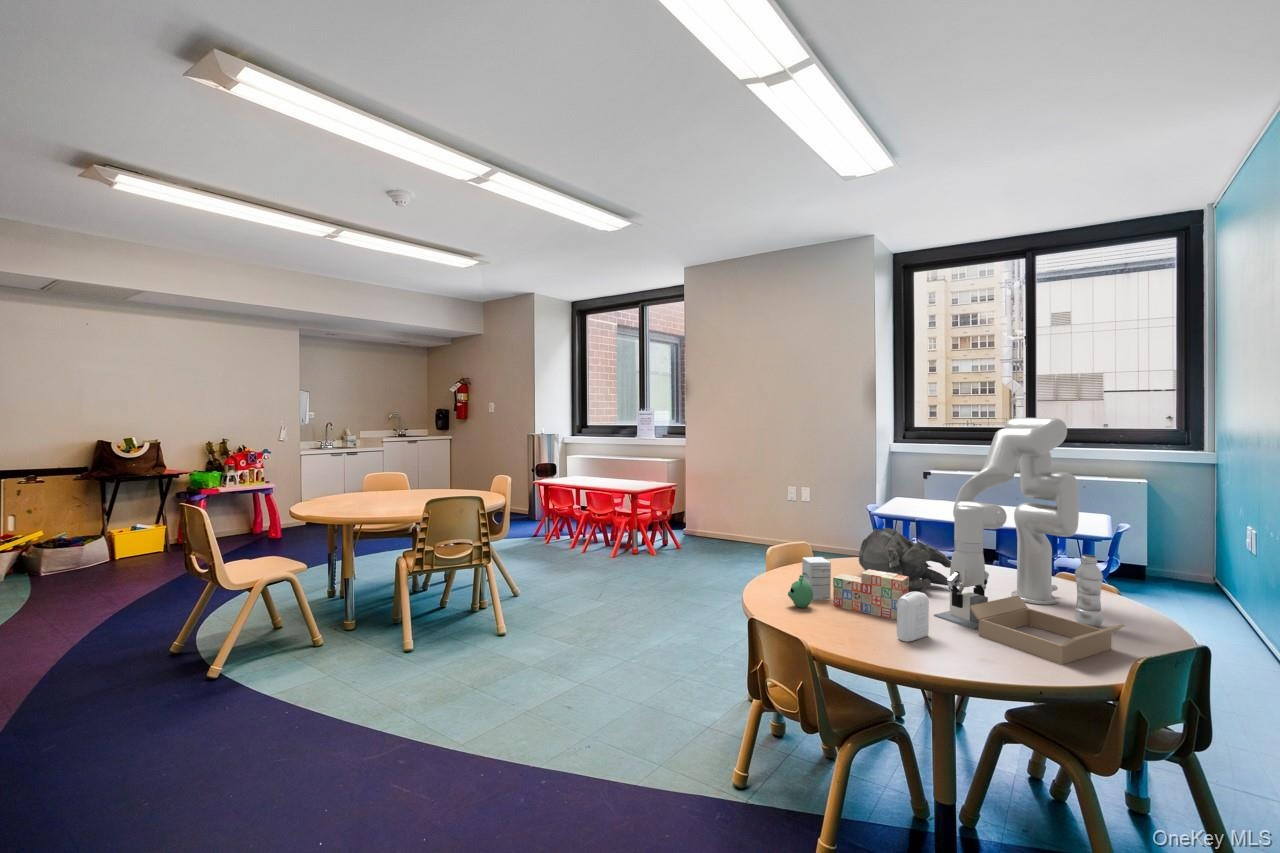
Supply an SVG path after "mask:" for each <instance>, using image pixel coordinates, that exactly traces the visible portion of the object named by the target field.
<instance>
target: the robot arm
mask: <svg viewBox="0 0 1280 853" xmlns="http://www.w3.org/2000/svg"><path fill="white" fill-rule="evenodd" d="M1067 436H1068V427H1067V424H1066V423H1065V422H1064V421H1063V420H1062V419H1060V418H1057V417H1015V418H1011V419H1008V420H1007V421H1006V422H1005V424H1004V428H1000V429H998V430H997V431H996V432H995V434H994V435H993V438H992V442H991V445H990V448H989V451H988V453H987V456H986V458H985V462H984V464H983V467H982V469H981V470H980V471H978V472H977V473H975V474H974V475H972V477H970V478H969V479H968V480H966V481H965V483H963V484H962V486H961V487H960V489H959V490H958V493H957V496H956V498H955V502H954V504H953V510H952V514H953V518H954V535H953V537H954V546H953V548H954V551H953V552H952V555H951V560H950V561H951V567H950V568H949V569H950V570H949V572H950V573H949V577H947V578H948V579H947V583H948V589H949V593H950V592H952V606H955V607H958V608H963V595H962V594H961V593H962V591H963V590H964V589H965V588H970V587H973V592H972V593H975V594H978V595H982V596H985V593H986V591H985V590H986V589H987V584H988V582H989V581H988V580H989V577H990V573H989V572H988V571H986V567H985V564H986V563H985V557H984V530H997V529H1001V528H1002V527H1003V526H1004V525H1005V524H1006V521H1007V519H1008V518H1007V516H1008V515H1007V513H1006V510H1005V509H1004V508H1003V507H1002V506H1000V505H997V504H995V503H989V502H988V503H986V502H982V501H975V499H976V497H977V496H978V495H979V494H981V493H982V492H983V491H985V490H987V489H990V488H993V487H997V486H999V485H1002V484H1005V483H1008V482H1009V483H1010V481H1012V480H1013V479H1014V477H1015V473H1016V470H1017V468H1018V465H1019V462H1020V466H1019V467H1020V468H1019V469H1020V470H1019V472H1020V474H1019V478H1020V479H1019V483H1020V484H1019V486H1020V492H1021V494H1022V495H1023V496H1024V497H1026V498H1029V499H1034V500H1040V501H1041V500H1043V501H1049V502H1050V501H1051V502H1056V505H1054V504H1047V503H1046V504H1045V503H1039V502H1022V503H1020V504H1019V505H1017V506H1016V507H1015V509H1014V512H1013V517H1014V519H1013V520H1014V525H1015V530H1016V537H1017V538H1016V540H1017V542H1016V544H1017V549H1016V550H1017V551H1016V552H1017V553H1016V554H1017V555H1016V556H1017V558H1016V560H1017V561H1016V564H1017V566H1016V573H1017V574H1016V590H1013V591H1011V597H1013V596H1018V595H1019V597H1020V598H1021V599H1022V601H1024V603H1027V604H1028V603H1030V604H1035V605H1055V604H1056V603H1058V597H1056V596H1055V595H1053V594H1052V593H1053V592H1056V591H1058V586H1057V585H1056V584H1052V575H1053V573H1052V572H1053V568H1052V567H1053V566H1052V565H1053V559H1052V558H1053V557H1052V556H1053V549H1052V548H1053V547H1052V544H1051V542H1050V540H1049V539H1048V537H1047V535H1051V536H1055V537H1062V538H1063V537H1064V538H1068V537H1069V538H1070V537H1072V536H1075V535H1076V533H1077V531H1078V528H1079V518H1080V516H1079V515H1080V511H1079V509H1080V487H1079V486H1080V485H1079V482H1078V479H1077V478H1076V476H1075V475H1073V474H1072V473H1070V472H1067V471H1056V470H1055V471H1054V470H1052V455H1051V452H1050V451H1052V450H1054V449H1055V448H1057V447H1059V446H1060V445H1062V443H1063V442H1064V441H1065V440H1066V438H1067ZM958 587H959V588H958ZM985 597H986V596H985Z"/></svg>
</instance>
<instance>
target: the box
mask: <svg viewBox="0 0 1280 853" xmlns="http://www.w3.org/2000/svg"><path fill="white" fill-rule="evenodd" d="M961 594H962V595H963V608H958V607H955V606H952V592H950V591H949V611H950V614H951V615H954V616H957V617H960V618H963V619H966V620H969V621H972V622H975V623H979V620H978V619H977V618H976V616H975V615H974V614H973V612H972V611H971V609H970V608H969V606H971V605H976V604H980V603H985V602H989V597H988V596H982V595H978V594H975V593H973V592H970V591H968V590H964V589H963V591H962V593H961Z"/></svg>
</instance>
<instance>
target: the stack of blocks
mask: <svg viewBox="0 0 1280 853" xmlns="http://www.w3.org/2000/svg"><path fill="white" fill-rule="evenodd" d="M832 579H833V580H832V586H833V595H832V596H833V600H832V602H833V604H832V605H833V606H834V607H838V608H843V609H846V610H852V611H856V612H859V613H865V614H868V613H869V615H873V616H877V617H878V616H879V617H881V618H887V619H891V618H892V619H891V620H895V619H896V621H897V603H898V600H899V599H900V598H901V597H902V596H903V595H905V594H907V593H910V592H909V590H910V589H909V577H908V576H902V575H898V574H895V573H887V572H881V571H875V570H870V569H868V570H867V571H865V570H864V572H861V577H860V576H855V575H850V574H846V573H845V574H844V573H840V574H838V575H836V576H834V577H832Z"/></svg>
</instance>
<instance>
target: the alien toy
mask: <svg viewBox="0 0 1280 853" xmlns="http://www.w3.org/2000/svg"><path fill="white" fill-rule="evenodd" d="M803 577H804V576H803V575H802V574H800V575H798V579H797V580H796V581H794V582H793V583H792V584H791V586H790V590H788V592H787V596H788V597H789V598H790V600H791V601H792V604H793V605H794V606H796V607H798V608H800V609H804V608H807V607H808V606H809V605H811V603H812V601H813V600H812V598H813V591H812V588H811V586H810V584H809V583H808V582H806V581H803V580H804V579H803Z"/></svg>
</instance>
